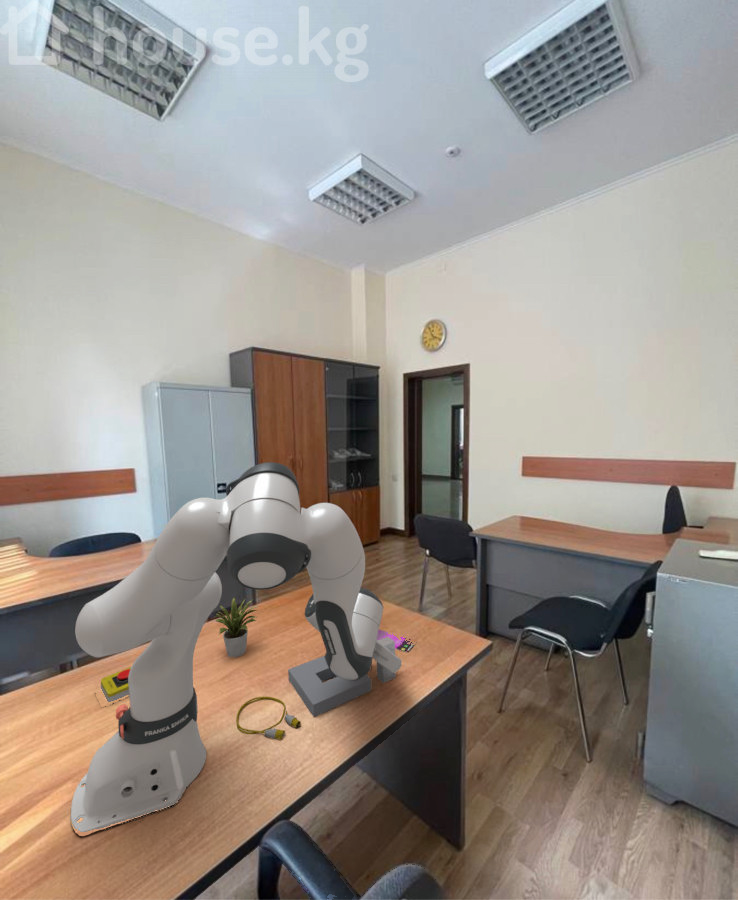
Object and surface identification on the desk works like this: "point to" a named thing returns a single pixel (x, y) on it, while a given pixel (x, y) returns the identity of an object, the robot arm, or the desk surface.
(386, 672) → the grey square post
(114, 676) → the emergency button
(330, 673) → the block
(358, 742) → the desk surface
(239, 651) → the house plant
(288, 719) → the extension cord
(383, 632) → the smartphone
